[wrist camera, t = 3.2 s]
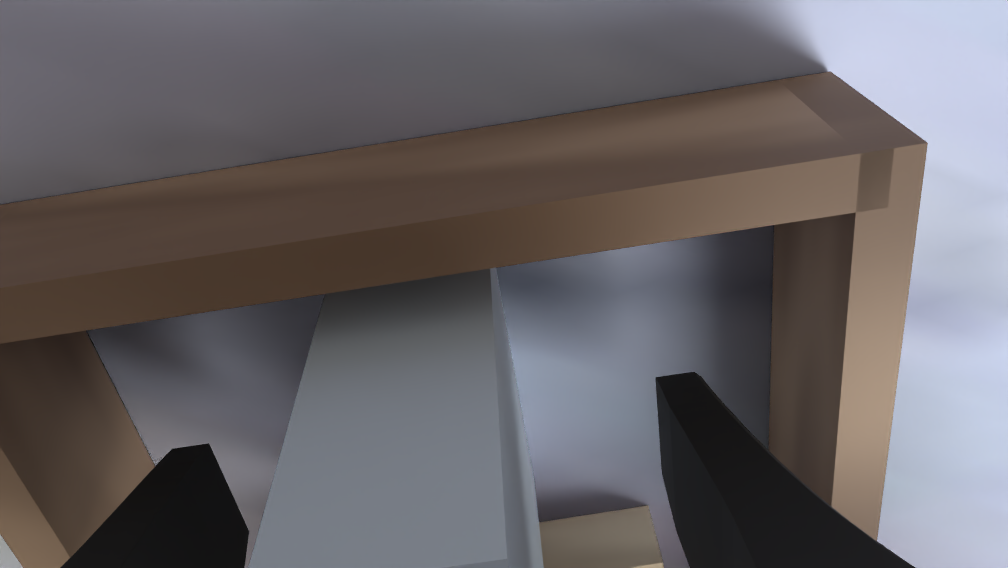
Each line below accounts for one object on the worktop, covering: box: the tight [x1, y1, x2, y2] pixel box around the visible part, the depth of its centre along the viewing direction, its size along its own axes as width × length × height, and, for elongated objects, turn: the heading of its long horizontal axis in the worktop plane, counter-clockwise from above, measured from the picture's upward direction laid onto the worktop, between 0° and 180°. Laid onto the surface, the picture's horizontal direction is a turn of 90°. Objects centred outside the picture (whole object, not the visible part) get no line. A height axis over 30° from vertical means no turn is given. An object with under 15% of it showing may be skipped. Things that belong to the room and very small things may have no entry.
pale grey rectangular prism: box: [248, 268, 544, 568], centre depth 12 cm, size 6×2×7 cm, turn 9°
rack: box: [0, 72, 928, 568], centre depth 15 cm, size 15×14×3 cm
